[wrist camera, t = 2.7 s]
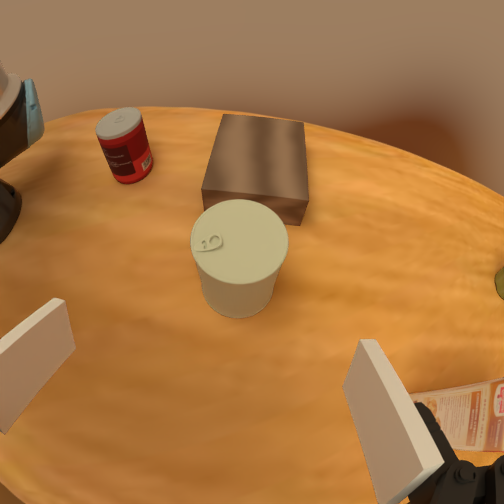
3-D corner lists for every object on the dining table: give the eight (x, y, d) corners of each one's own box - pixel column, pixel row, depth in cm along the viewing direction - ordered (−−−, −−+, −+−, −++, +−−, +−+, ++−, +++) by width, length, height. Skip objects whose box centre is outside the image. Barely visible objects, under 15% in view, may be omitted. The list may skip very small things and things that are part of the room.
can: (194, 262, 37) (180, 207, 26) (259, 245, 38) (269, 187, 28) (212, 327, 33) (202, 295, 22) (283, 306, 34) (306, 265, 24)
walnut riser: (204, 215, 40) (201, 189, 35) (223, 139, 49) (223, 113, 43) (299, 225, 40) (308, 200, 35) (297, 147, 49) (303, 122, 44)
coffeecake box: (393, 442, 26) (504, 454, 9) (398, 393, 29) (513, 373, 12) (465, 426, 26) (561, 414, 8) (468, 384, 29) (564, 356, 12)
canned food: (149, 149, 47) (137, 101, 37) (158, 175, 44) (144, 124, 34) (111, 163, 45) (94, 117, 35) (116, 191, 42) (95, 143, 32)
